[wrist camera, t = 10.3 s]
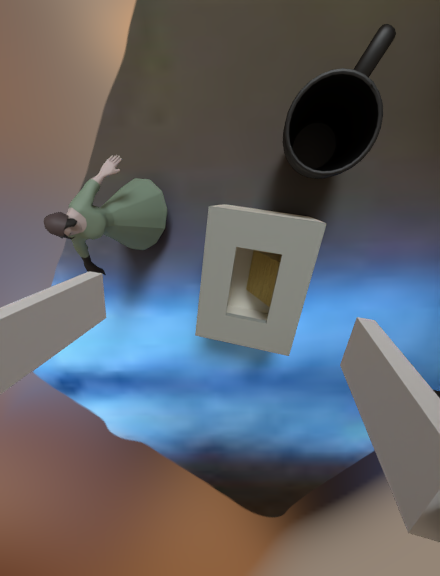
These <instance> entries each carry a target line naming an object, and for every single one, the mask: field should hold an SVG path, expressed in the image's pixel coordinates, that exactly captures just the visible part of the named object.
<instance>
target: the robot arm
mask: <svg viewBox="0 0 440 576" xmlns="http://www.w3.org/2000/svg"><path fill="white" fill-rule="evenodd" d="M105 318H106V311H105V300H104V288H103V277H102V273H96V272H91V271H89V272H87V273H84V274H82V275H79V276H77V277H74V278H72V279H70V280H67V281H65V282H62V283H60V284H57V285H55V286H52V287H50V288H47V289H45V290H42V291H40V292H38V293H35V294H33V295H30V296H28V297H26V298H23V299H20V300H18V301H15V302H13V303H11V304H8V305H6V306H3V307H1V308H0V395H1V394H2V393H3V392H5V391H6V390H7V389H9V388H10V387H12V386H13V385H14V384H16V383H17V382H18V381H20V380H21V379H23V378H24V377H25V376H27V375H28V374H29V373H31V372H32V371H34V370H35V369H36V368H38V367H39V366H40V365H42V364H43V363H45V362H46V361H47V360H49V359H50V358H51V357H53V356H54V355H56V354H57V353H58V352H60V351H61V350H62V349H64V348H65V347H67V346H68V345H69V344H71V343H72V342H73V341H75V340H76V339H78V338H79V337H80V336H82V335H83V334H84V333H86V332H87V331H89V330H90V329H91V328H93V327H94V326H95V325H97V324H98V323H100V322H101V321H102V320H104V319H105ZM340 366H341V368H342V371H343V373H344V376H345V378H346V381H347V383H348V386H349V388H350V391H351V393H352V395H353V398H354V400H355V403H356V405H357V408H358V410H359V413H360V415H361V418H362V420H363V423H364V425H365V427H366V430H367V432H368V435H369V437H370V440H371V442H372V445H373V447H374V450H375V452H376V454H377V457H378V459H379V462H380V464H381V467H382V469H383V472H384V474H385V476H386V479H387V481H388V484H389V487H390V489H391V491H392V494H393V496H394V499H395V501H396V503H397V506H398V509H399V511H400V513H401V516H402V518H403V521H404V523H405V526H406V528H407V530H408V533H411V534H414V535H417V536H421V537H424V538H428V539H431V540H434V541H438V542H440V391H436V390H432V388H431V387H430V386H429V385H428V384H427V382H426V381H425V380H424V379H423V378H422V376H421V375H420V374H419V373H418V372H417V370H416V369H415V368H414V367H413V366H412V364H411V363H410V362H409V361H408V360H407V358H406V357H405V356H404V355H403V354H402V352H401V351H400V350H399V349H398V348H397V346H396V345H395V344H394V343H393V342H392V340H391V339H390V338H389V337H388V336H387V334H386V333H385V332H384V331H383V330H382V328H381V327H380V326H379V325H378V324H377V322H376V321H375V320H370V319H364V318H358V317H357V319H356V322H355V324H354V327H353V330H352V333H351V336H350V339H349V341H348V344H347V347H346V350H345V353H344V355H343V358H342V361H341V364H340Z"/></svg>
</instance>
